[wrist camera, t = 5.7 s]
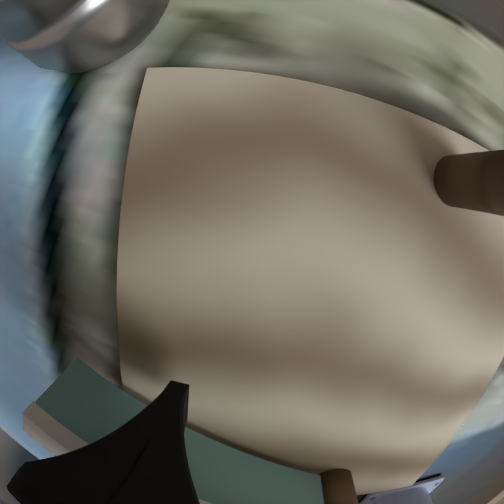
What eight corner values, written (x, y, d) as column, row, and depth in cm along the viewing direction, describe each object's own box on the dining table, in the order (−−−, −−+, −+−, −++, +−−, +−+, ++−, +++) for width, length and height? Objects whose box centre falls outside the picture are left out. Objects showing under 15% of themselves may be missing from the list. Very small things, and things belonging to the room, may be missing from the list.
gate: (322, 474, 12) (331, 538, 7) (304, 485, 12) (309, 546, 8) (78, 355, 10) (22, 413, 6) (72, 374, 11) (23, 429, 6)
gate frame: (408, 477, 14) (430, 540, 7) (142, 461, 14) (110, 537, 7) (536, 190, 9) (626, 205, 2) (156, 76, 9) (50, -14, 2)
